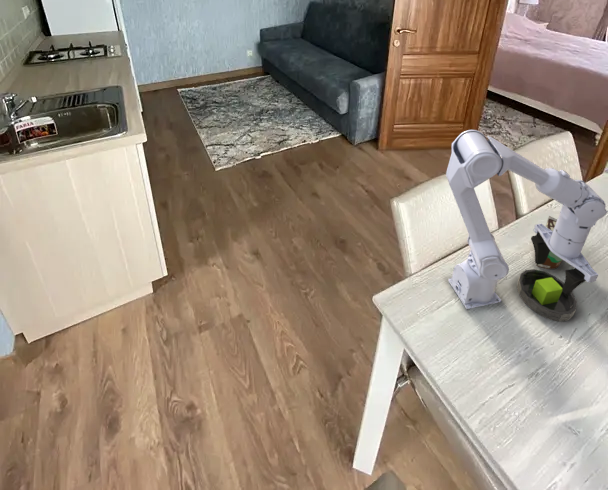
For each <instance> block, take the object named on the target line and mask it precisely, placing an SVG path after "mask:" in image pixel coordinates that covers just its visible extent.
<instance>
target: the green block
mask: <svg viewBox="0 0 608 490" xmlns="http://www.w3.org/2000/svg"><path fill="white" fill-rule="evenodd" d="M561 293H562V287H561V286H560V285H559V284H558V283H557V282H556V281H555V280H554V279H553V278H552V277H550V278H545V279H540V280H536V282H535V285H534V288H533V290H532V294H533V295H534V297H535V298H536V299H537V300H538V301H539V302H540V304H541V305H545V304H550V303H555V302H558V300H559V297H560V295H561Z"/></svg>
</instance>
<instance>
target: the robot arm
mask: <svg viewBox="0 0 608 490" xmlns="http://www.w3.org/2000/svg"><path fill="white" fill-rule="evenodd" d="M450 153H451V154H450V158H449V161H448V165H447V168H446V172H445V177H446V180H447V182H448V185H449V187H450V190H451V193H452V196H453V198H454V200H455V203H456V205H457V208H458V211H459V213H460V216H461V218H462V221H463V223H464V226H465V228H466V232H467V234H468V235H467V239H466V241H467V244H468V246H469V248H470V249H469V253H468V256H467V258H466V259H465V260H464V261H462V262H460V263H457V264H455V265H454V266H453V270H452V274H451V278H448V281H447V282H448V284H450V286H451V288H452V289H453V291H454V292H455V294H456V295H457V297H458V298H459V300H460V301H461V303H462V304H463V306H464V307H465V309H466V310H470V309H475V308H479V307H484V306H489V305H493V304H499V303H502V299H501V298H500V297H499V295H498V294H497V293H496V288H497V285H498V282H499V280H502V279H504V278H505V277H506V276H507V275H508V274H509V272H510V267H509V265H508V263H507V262H506V260H505V258H504V256H503V254H502V251H501V250H500V248H499V246H498V244H497V242H496V239H495V236H494V235H493V233H492V232H491V231H490V229H489V226H488V223H487V221H486V218H485V214H484V212H483V209H482V207H481V204H480V201H479V198H478V196H477V193H476V191H475V188H476V187H478V186H480V185H481V184H483V183H486V181H488V180H489V179H491V178H493V177H494V176H496V175H497V176H498V177H501V176H503V175H504V174H505V173H506V172H507V171H509V172H511V173H513V174H515V175H517V176H519V177H522V178H523V179H525V180H528V181H530V182H532V183H533V184H534V185H535V188H536V189H537V191H538V192H539V193H541V194H542V195H545V196H546V197H548V198H550V199H552V200H554V201H556V202H558V203H559V204H561V205H562V206H561V208H560V211H559V214H558V217H557V218H556V219H557V222H556V224H555V227H554V230H553V231H551V230H550V229H548V228H547V227H546V225H544V224H543V223H537V224H534V226H533V230H532V231H533V232H534V233H535V235H532V236H531V237H530V240H531V243H532V245H533V250H534V259H535V260H534V262H535V264H536V265H538V264H543V263H545V261H546V260H547V257H548V255H549V252H550V251H551V252H552V253H554V254H555V255H556V256H558V257H559V258H561V259H562V261H563V262H566V264H568V265H570V266H571V267H573V268H570V269H566V270H564V274H565V280H564V282H563V283H564V285H563V288H562V291H563V292H564V293H570V292H574V290H575V289H576V288H578V287H579V286H580V285H581V284H584V283H593V282H596V281H597V280H598V277H599V273H598V272H596V270H594V269H593V267H592V266H591V264H590V263H589V261H588V260H587V259H586V258H585V256H584V255H583V253H582V251H583V248H584V246H585V243H586V241H587V239H588V237H589V234H590V232H591V229H592V228H593V227H594V226H596V224H597V222H598V221H599V220H600V219H602V218H604V217H605V216H606V215H607V214H608V210H607V209H606V207H607V206H606V202H605V201H604V200H603V198H602V197H600V195H599V194H598V193H596V191H595V190H594V189H593V188H592V187H591V186H590V185H588V184H587V182H585V181H584V180H582V179H573V178H572V177H571V175H570V174H569V173H568V172H567V171H565V170H563V169H560V170H558V169H556V168H554V167H545V168H542V167H540V166H539V165H538V164H536V163H534V162H533V161H531V160H529V159H528V158H526V157H525V156H523V155H521V154H519V153H518V152H516V151H515V150H513V149H511V148H510V147H508V146H506V145H505V144H504V143H502V142H501V141H499V140H497V139H495V138H494V137H492V136H489V135H484V133H483V132H482V131H479V130H478V129H468V130H467V129H466V130H465V131H462V132H461V133H459V135H458V136H457V137H456V138H455V139H454V140H453V141H452V142H451V152H450Z"/></svg>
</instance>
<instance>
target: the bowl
mask: <svg viewBox="0 0 608 490" xmlns="http://www.w3.org/2000/svg"><path fill="white" fill-rule="evenodd" d="M550 277H552V278H553V279H554V280H555V281H556V282H557V283H558V284H559V285H560V286H561V287H562V288H563V285H564V283H565V282H564V281H562V280H561V279H559V278H558V277H557V276H555V275H553V274H551V273H549V272H546V271H544V270H540V269H536V268H533V269H525V270H523V271H522V272H521V273H520V274H519V277H518V280H517V284H516V289H517V293H518V295H519V297H520V298H521V300H522V301H523V303H524V304H525V305H526V306H527V307H528V308H529V309H530V310H531V311H533V312H534V313H536V314H537V315H539V316H541V317H543V318H545V319H546V320H550V321H554V322H557V323H558V322H567V321H569V320H570V319H572V317H574V315H575V313H576V311H577V307H578V301H577V298H576V296H575V295H574V291H572V292H570V293H564V292H563V291H562V293H561V295H560V297H559V300H558V302H555V303H550V304H545V305H541V304H540V302H539V301H538V300H537V299H536V298H535V297H534V295H533V294H532V290H533V288H534V285H535V282H536V280H540V279H545V278H550Z"/></svg>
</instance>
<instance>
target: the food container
mask: <svg viewBox="0 0 608 490" xmlns="http://www.w3.org/2000/svg"><path fill="white" fill-rule="evenodd" d="M557 219H558V218H556V217H553V216H550V215H548V217H547V220H546V224H545V227H547V228H548V229H550V230H551V231H553V230H554V227H555V224H556V222H557ZM562 262H563V260H562V259H561V258H559V257H558V256H556V255H555V254H554V253H552V252H551V251H550V252H549V255H548V257H547V260H546V261H545V263H543V264H538V265H537V264H536V265H535V266H536V267H539V268H541V269H545V270H555V269H557V268H559V267H560V265H561V263H562Z"/></svg>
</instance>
